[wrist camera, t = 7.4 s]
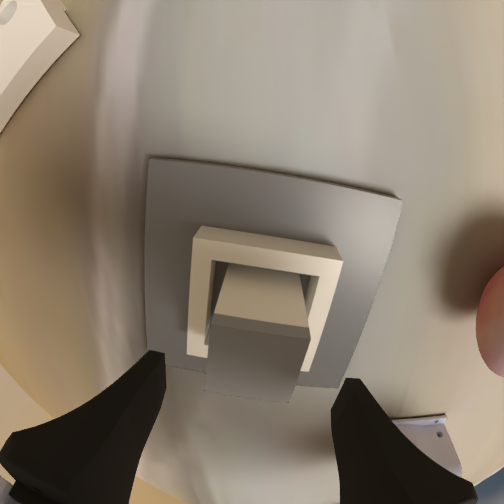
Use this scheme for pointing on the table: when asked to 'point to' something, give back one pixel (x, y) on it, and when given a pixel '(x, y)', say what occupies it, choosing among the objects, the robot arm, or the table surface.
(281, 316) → the block
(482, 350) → the decorative fruit
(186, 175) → the outlet plate
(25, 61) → the bracket
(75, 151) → the table surface
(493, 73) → the table surface
